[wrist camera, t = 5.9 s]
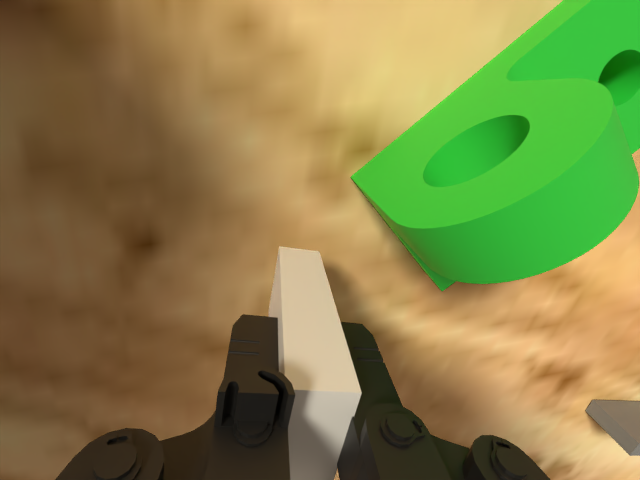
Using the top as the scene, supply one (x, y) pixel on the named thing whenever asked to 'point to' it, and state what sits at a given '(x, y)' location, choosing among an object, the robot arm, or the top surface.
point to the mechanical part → (521, 153)
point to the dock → (619, 422)
